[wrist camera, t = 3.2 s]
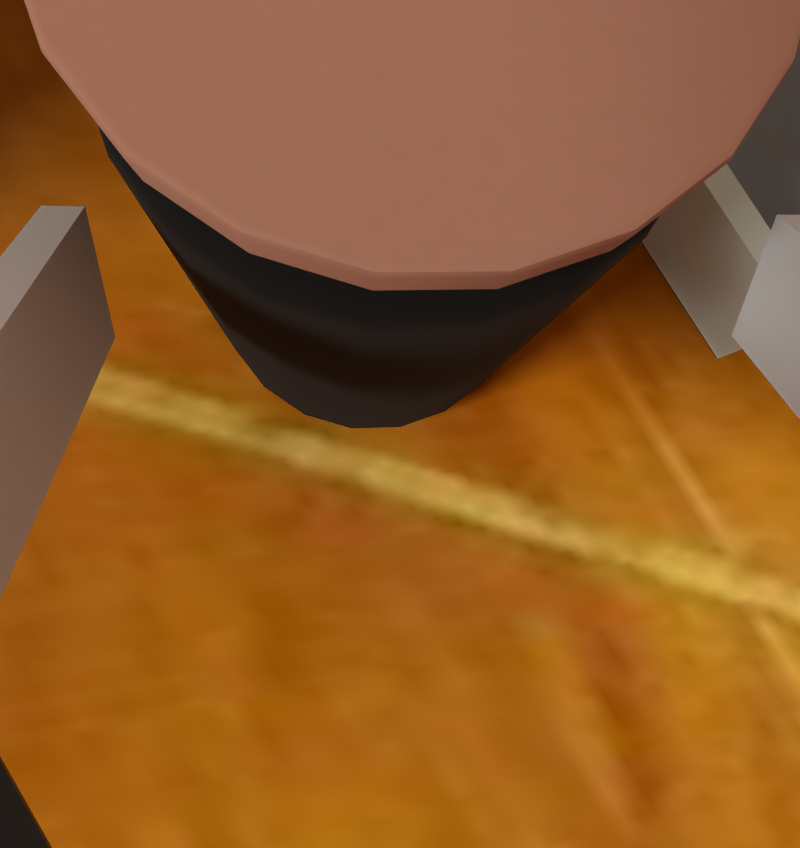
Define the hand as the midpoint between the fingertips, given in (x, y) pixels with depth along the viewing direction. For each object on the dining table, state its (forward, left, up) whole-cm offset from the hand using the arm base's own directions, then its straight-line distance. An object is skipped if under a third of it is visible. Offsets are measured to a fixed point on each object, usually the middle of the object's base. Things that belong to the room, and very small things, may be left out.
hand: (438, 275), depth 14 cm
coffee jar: (-3, +1, -13) cm, 13 cm away
